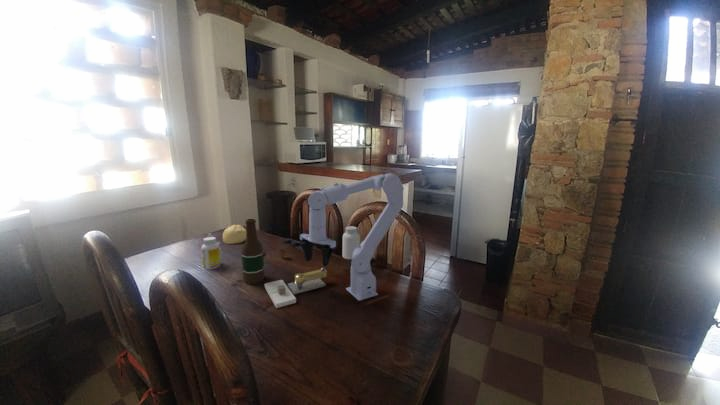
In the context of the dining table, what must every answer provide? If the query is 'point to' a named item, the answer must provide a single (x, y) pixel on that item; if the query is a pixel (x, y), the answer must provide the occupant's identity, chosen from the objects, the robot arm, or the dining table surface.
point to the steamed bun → (234, 234)
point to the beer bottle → (252, 255)
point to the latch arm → (310, 276)
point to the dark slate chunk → (295, 243)
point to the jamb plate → (305, 286)
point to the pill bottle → (350, 241)
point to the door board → (280, 297)
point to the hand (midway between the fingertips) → (317, 262)
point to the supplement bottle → (210, 253)
